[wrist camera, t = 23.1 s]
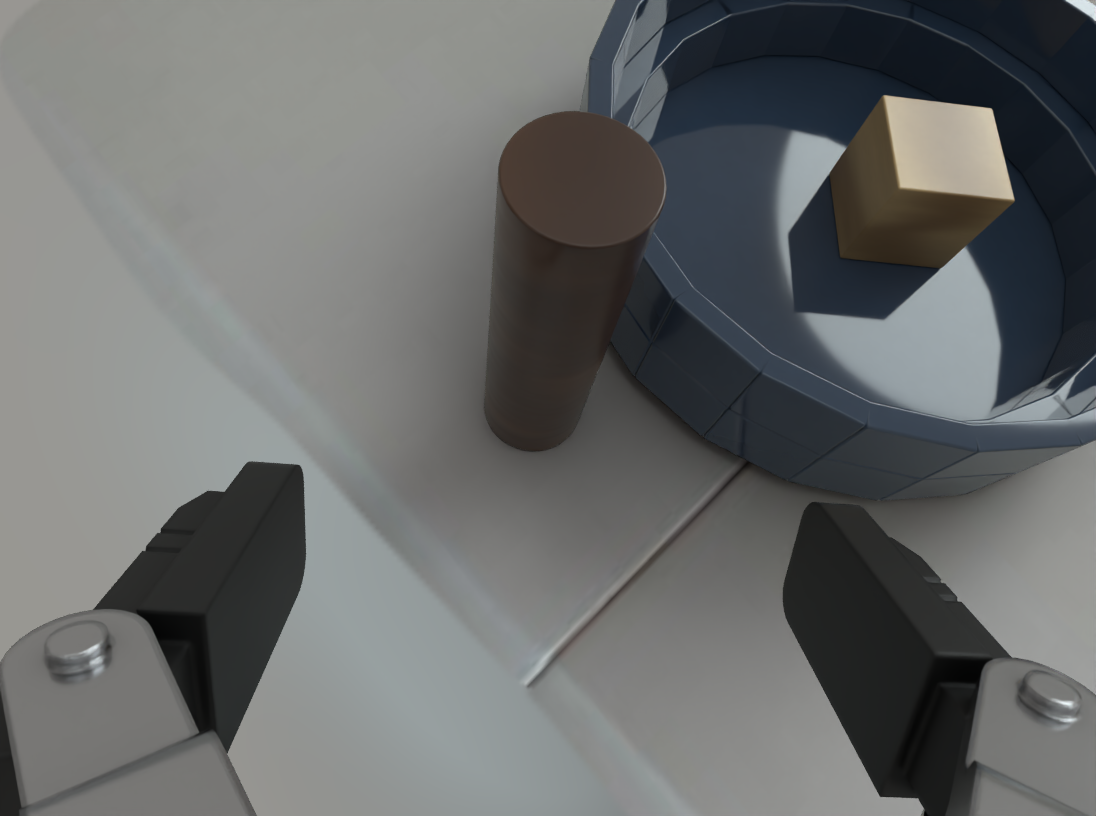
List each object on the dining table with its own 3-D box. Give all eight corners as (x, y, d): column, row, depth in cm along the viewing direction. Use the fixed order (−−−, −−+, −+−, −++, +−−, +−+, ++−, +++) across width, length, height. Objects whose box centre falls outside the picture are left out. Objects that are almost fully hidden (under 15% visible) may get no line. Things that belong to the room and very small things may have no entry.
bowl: (551, 482, 20) (577, 418, 16) (573, 10, 27) (595, -130, 23) (1159, 528, 22) (1347, 481, 17) (1030, 69, 29) (1138, -52, 24)
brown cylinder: (480, 447, 20) (491, 237, 11) (488, 358, 21) (505, 100, 12) (578, 455, 21) (668, 256, 11) (581, 367, 22) (666, 120, 12)
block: (839, 258, 23) (899, 188, 20) (828, 172, 25) (882, 93, 22) (941, 269, 24) (1016, 200, 20) (925, 183, 25) (993, 107, 22)
